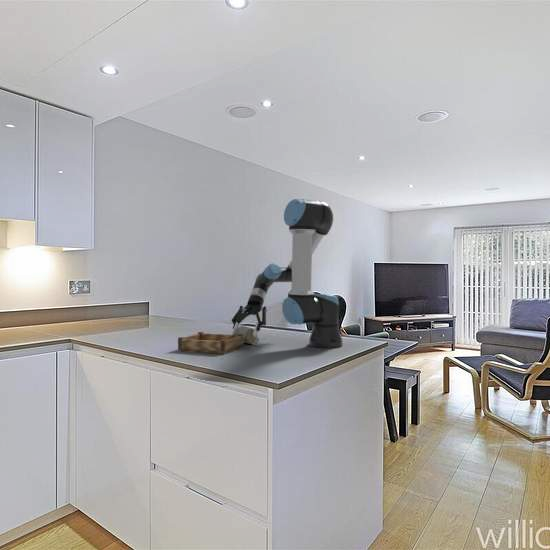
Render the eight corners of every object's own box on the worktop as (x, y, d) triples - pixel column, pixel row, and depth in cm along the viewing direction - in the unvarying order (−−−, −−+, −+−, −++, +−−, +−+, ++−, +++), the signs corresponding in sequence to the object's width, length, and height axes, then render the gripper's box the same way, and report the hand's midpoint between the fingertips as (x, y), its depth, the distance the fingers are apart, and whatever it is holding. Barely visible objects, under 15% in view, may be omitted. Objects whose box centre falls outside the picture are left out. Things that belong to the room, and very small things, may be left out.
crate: (243, 346, 177) (243, 334, 177) (224, 354, 160) (224, 340, 160) (200, 343, 185) (200, 331, 185) (178, 350, 168) (178, 337, 168)
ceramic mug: (246, 345, 180) (246, 328, 180) (235, 342, 185) (235, 326, 186) (263, 342, 187) (263, 326, 187) (252, 340, 193) (252, 324, 193)
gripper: (279, 304, 196) (268, 341, 181) (238, 303, 204) (224, 339, 189) (275, 294, 191) (264, 331, 176) (234, 293, 199) (219, 329, 184)
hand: (243, 335), depth 183 cm, fingers closed on ceramic mug, 10 cm apart
